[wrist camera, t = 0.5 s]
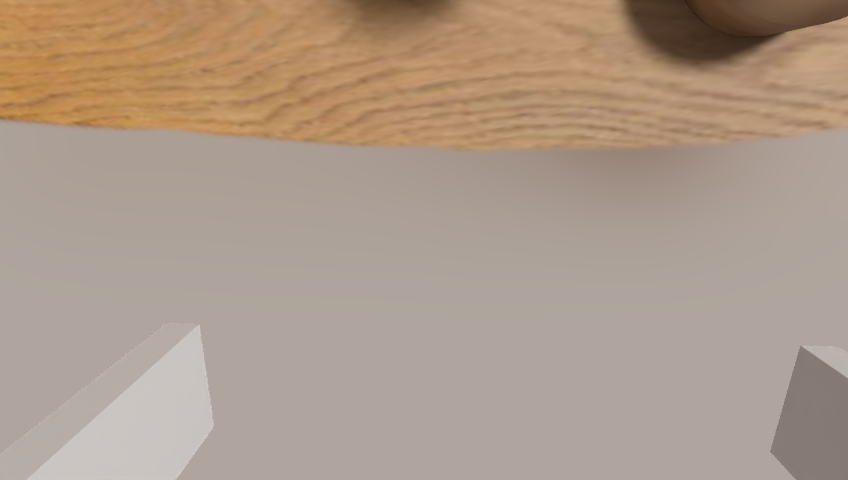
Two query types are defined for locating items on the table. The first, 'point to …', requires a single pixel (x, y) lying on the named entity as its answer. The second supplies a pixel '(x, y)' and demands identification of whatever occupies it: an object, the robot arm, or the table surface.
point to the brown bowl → (766, 15)
